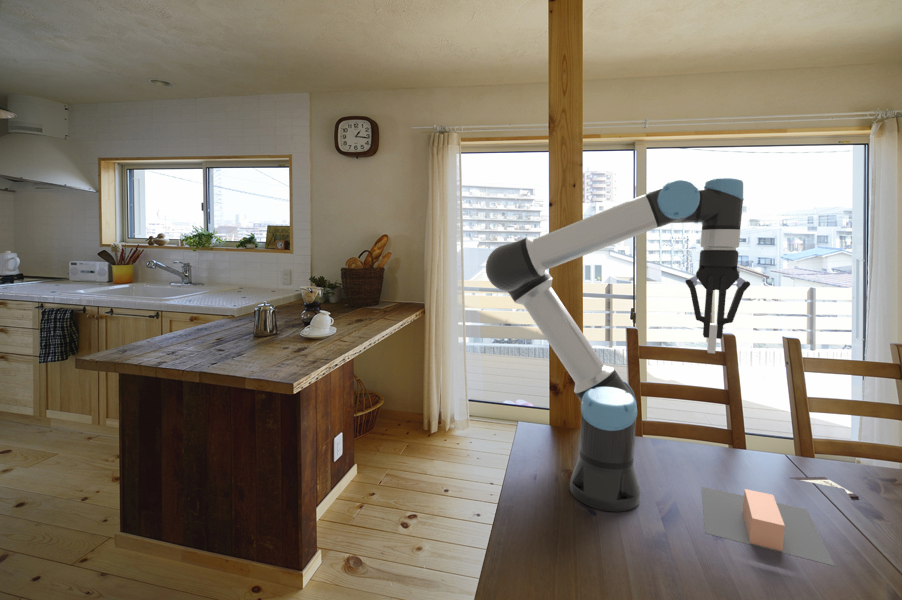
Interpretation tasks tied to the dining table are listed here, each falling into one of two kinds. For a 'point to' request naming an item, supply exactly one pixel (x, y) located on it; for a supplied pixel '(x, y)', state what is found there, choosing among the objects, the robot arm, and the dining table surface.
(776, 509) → the block
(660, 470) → the dining table surface
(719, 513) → the mat
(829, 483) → the chocolate bar
